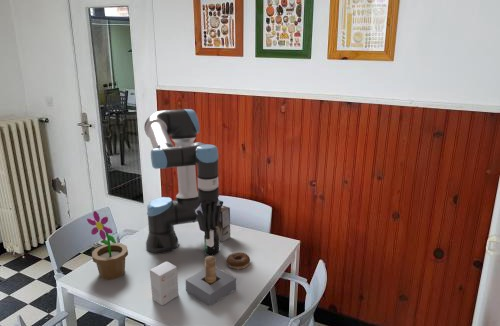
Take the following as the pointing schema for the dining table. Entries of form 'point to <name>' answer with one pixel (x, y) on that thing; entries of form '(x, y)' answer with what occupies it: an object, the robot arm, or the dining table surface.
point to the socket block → (210, 286)
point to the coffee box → (224, 224)
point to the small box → (164, 282)
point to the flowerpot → (108, 251)
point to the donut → (238, 260)
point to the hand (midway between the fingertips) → (209, 245)
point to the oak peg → (210, 270)
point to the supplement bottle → (213, 249)
